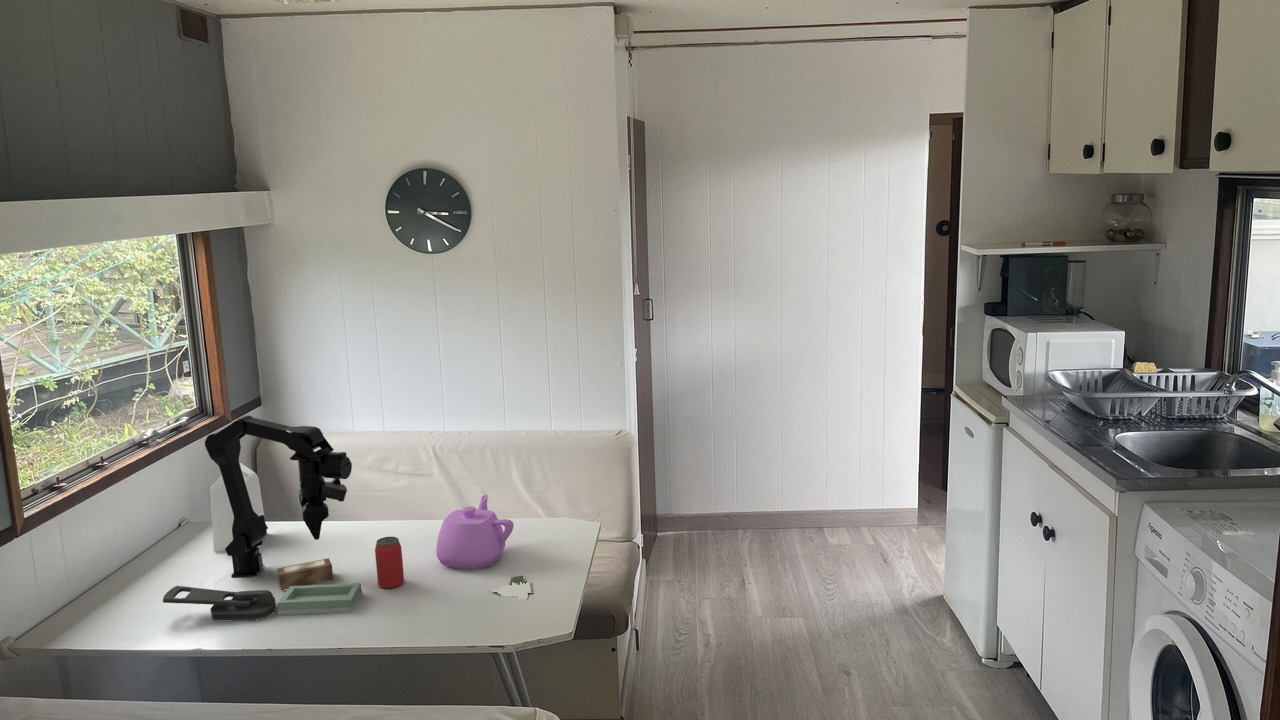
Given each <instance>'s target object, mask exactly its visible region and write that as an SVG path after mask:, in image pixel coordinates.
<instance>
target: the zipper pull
mask: <svg viewBox="0 0 1280 720" xmlns="http://www.w3.org/2000/svg"><path fill="white" fill-rule="evenodd" d="M182 592H186V593H187V595H186V596H185V597H182V598H179V597H177V596H178V595H179V594H180V593H182ZM229 597H230V598H231V599H226V598H229ZM162 603H166V604H188V605H189V604H190V605H191V604H192V605H212V606H211V607H210V614H211V615H210V617H211V619H212V621H213V620H232V621H257V620H256V619H259V620H262V619H261V618H263V619H267V618H269V617H270V616H271V615H273V614H274V613H275V611H276V610H277V606H276V605H277V604H276V603H277V602H276V596H275V597H274V595H273V593H272V591H270V590H268V589H257V590H256V589H254V590H241V591H228V590H218V589H211V588H201V587H193V586H192V587H191V586H183V585H176V586H173V587H172V588H170V589H169V590H168V591H167V592H166V593H164V595H163V597H162ZM275 609H276V610H275ZM273 612H274V613H273ZM272 613H273V614H272ZM270 614H271V615H270ZM269 615H270V616H269ZM268 616H269V617H268ZM266 617H267V618H266Z"/></svg>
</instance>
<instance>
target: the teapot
mask: <svg viewBox="0 0 1280 720" xmlns="http://www.w3.org/2000/svg"><path fill="white" fill-rule="evenodd" d="M488 498H489V495H488V494H483V495H482V496H481V498H480V500H479V505H478V508H476V507H475V506H465V507H463V508H461V509H456V510H454V511H451V512H450V513H449V514H448V515H447V516H446V517H445V518H444V520H443V521H442V524H441V526H440V528H439V533H438V536H437V540H436V549H435V550H436V551H435V553H436V557H437V559H438V561H439V563H440V564H441V565H442V566H445V567H448V568H455V569H477V568H480V569H484V568H487V567H490V566H492V565H494V564H495V563H496V562H497V561H498V560H499V559H500V557H502V556H501V555H502V554H503V553H504V550H505V547H506V541H507V540H508V538H509V537H510V535H511V534H512V532H513V530H514V521H513V520H511V519H509V518H508V519H507V518H506V519H505V518H501V519H498V517H497V515H496V513H495V512H494V511H493V510H489V509H488V500H489V499H488ZM502 526H503V527H504V529H503V527H502ZM483 567H484V568H483Z"/></svg>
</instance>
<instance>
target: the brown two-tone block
mask: <svg viewBox="0 0 1280 720" xmlns="http://www.w3.org/2000/svg"><path fill="white" fill-rule="evenodd" d="M276 573H277V582H278V587H279V589H280V591H281V590H283V591H285V590H284V589H289V587H290V586H304V585H317V584H319V583H321V584H322V583H326V582H330V581H334V573H333V564H332V562H331V560H330V558H323V559H317V560H313V561H307V562H302V563H297V564H292V565H287V566H282V567H278V568H276Z"/></svg>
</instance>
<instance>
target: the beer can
mask: <svg viewBox="0 0 1280 720" xmlns="http://www.w3.org/2000/svg"><path fill="white" fill-rule="evenodd" d="M375 542H376V544H375V548H374V553H375V555H374V556H375V566H376V577H377V579H376V580H377V585H378V587H379V588H381V589H386V590H388V589H389V590H390V589H395V588H398V587H401V586H402V585H403V584H404V582H405V576H404V561H403V552H402V545H401V542H400V541H399V538H398V537H397V536H384V537H381V538H378V539H377V540H376V541H375Z"/></svg>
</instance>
